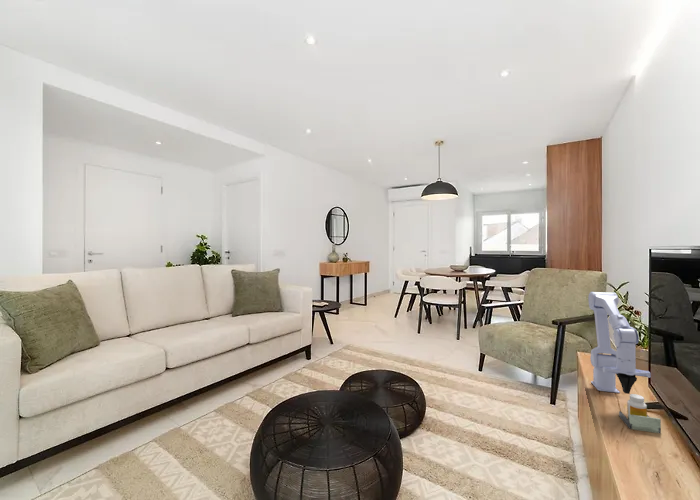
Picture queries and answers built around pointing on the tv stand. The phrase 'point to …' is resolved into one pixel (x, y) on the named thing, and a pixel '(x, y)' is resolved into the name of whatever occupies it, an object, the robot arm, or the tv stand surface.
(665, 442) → the tv stand surface
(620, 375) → the robot arm
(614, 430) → the tv stand surface
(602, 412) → the tv stand surface
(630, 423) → the seating bay
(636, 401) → the supplement bottle
